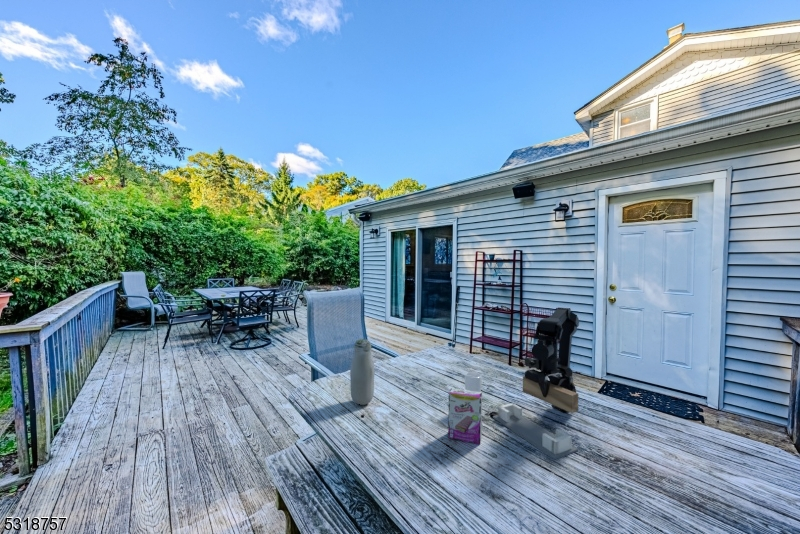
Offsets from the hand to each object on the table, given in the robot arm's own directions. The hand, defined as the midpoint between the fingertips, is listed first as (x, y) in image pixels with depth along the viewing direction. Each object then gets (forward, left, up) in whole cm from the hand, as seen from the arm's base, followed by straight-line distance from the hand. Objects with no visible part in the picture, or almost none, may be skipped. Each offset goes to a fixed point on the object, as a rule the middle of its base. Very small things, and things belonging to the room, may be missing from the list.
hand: (548, 396), depth 113 cm
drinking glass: (+17, -22, -12) cm, 31 cm away
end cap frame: (+8, 0, -12) cm, 14 cm away
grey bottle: (+57, -47, -12) cm, 75 cm away
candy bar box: (+32, -7, -12) cm, 35 cm away
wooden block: (0, 0, -2) cm, 2 cm away
